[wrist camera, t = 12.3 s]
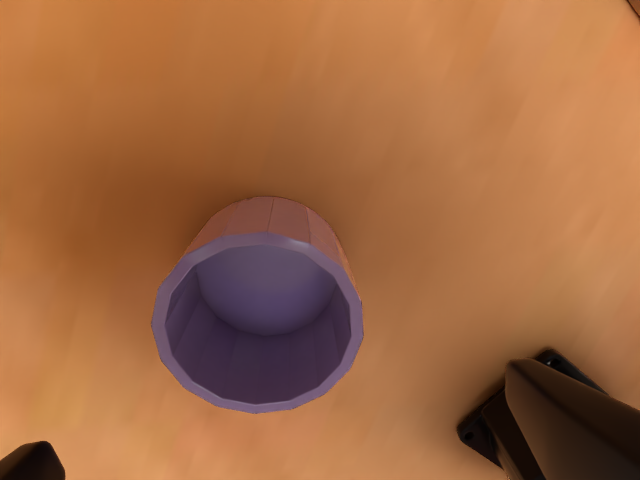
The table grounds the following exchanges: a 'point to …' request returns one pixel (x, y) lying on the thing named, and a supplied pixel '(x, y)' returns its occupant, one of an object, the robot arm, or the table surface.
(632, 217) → the table surface
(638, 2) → the placemat
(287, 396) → the dish
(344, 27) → the table surface
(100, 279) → the table surface
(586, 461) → the robot arm
